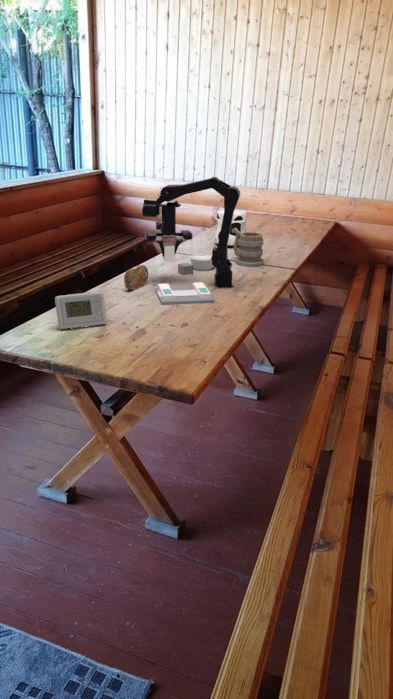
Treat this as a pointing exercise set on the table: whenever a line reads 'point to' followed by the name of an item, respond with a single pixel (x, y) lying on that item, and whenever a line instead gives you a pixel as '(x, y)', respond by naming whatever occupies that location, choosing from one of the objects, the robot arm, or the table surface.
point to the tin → (136, 277)
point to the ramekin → (201, 262)
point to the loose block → (185, 268)
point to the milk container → (237, 222)
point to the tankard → (248, 248)
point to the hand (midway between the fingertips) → (168, 256)
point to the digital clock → (80, 310)
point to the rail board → (183, 294)
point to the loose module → (169, 252)
